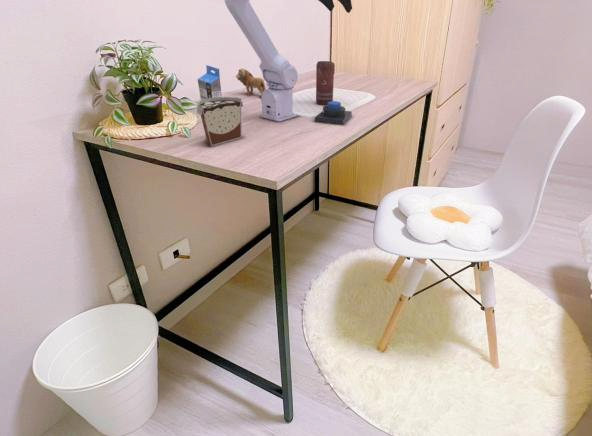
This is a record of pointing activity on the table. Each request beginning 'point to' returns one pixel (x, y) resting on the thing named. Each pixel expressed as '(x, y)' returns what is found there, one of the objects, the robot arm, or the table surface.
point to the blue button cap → (334, 105)
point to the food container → (221, 119)
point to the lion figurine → (250, 81)
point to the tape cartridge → (210, 84)
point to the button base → (333, 116)
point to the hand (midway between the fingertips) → (340, 9)
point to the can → (324, 82)
